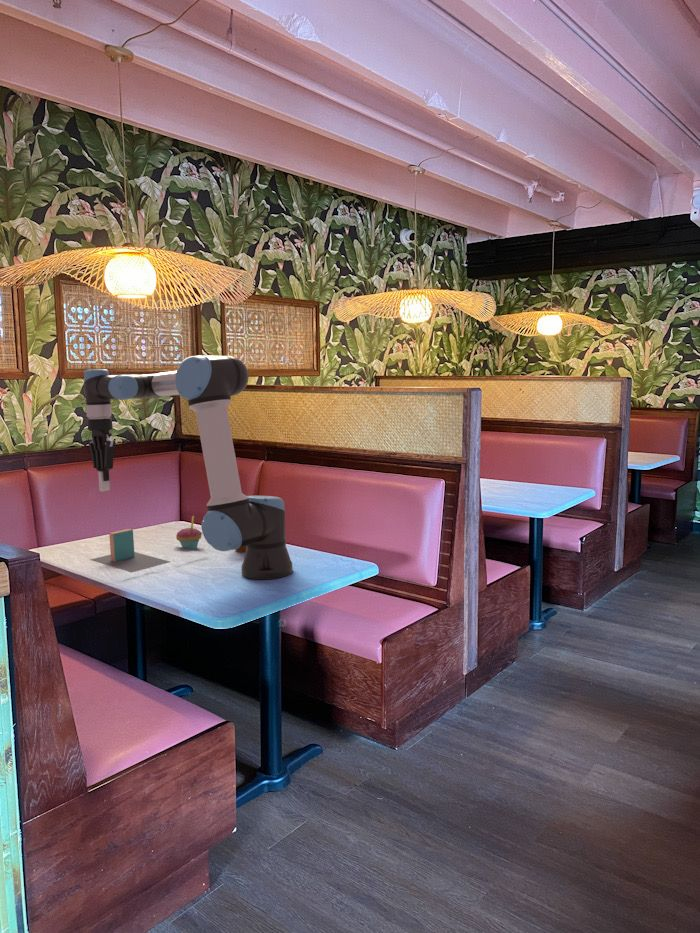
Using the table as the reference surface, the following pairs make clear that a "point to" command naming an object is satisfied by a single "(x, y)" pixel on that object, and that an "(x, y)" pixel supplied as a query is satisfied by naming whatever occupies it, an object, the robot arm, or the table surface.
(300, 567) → the table surface
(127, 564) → the mat
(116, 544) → the tile
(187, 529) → the cupcake
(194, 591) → the table surface
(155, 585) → the table surface
